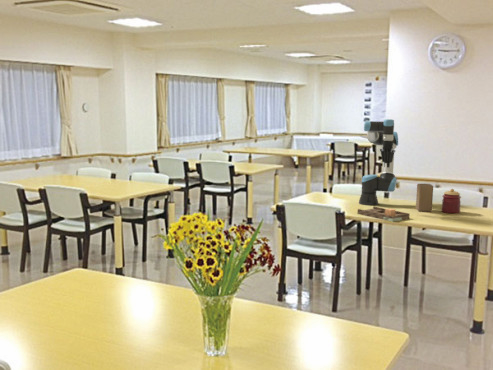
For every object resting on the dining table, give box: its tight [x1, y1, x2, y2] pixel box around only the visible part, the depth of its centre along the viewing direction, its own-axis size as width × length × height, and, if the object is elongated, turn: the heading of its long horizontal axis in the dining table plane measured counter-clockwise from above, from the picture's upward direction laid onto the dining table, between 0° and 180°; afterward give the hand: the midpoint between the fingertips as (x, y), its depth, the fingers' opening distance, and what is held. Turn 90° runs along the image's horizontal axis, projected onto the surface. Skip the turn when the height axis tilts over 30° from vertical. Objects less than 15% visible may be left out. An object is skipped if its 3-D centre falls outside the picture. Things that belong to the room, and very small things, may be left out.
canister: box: [441, 188, 462, 214], centre depth 395 cm, size 13×13×18 cm
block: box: [415, 183, 434, 213], centre depth 400 cm, size 10×10×20 cm
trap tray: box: [357, 206, 410, 223], centre depth 380 cm, size 32×18×4 cm, turn 36°
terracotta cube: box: [384, 208, 396, 216], centre depth 369 cm, size 5×5×5 cm
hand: (386, 171), depth 398 cm, fingers closed
